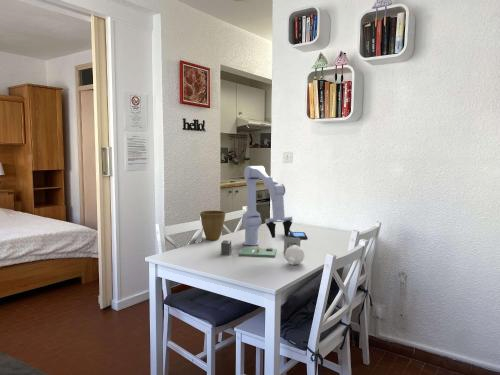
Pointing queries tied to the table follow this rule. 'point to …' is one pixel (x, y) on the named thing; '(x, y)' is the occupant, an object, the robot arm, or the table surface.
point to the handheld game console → (298, 234)
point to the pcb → (258, 252)
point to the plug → (226, 247)
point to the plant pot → (212, 223)
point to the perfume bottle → (294, 254)
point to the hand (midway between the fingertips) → (280, 236)
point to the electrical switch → (291, 242)
